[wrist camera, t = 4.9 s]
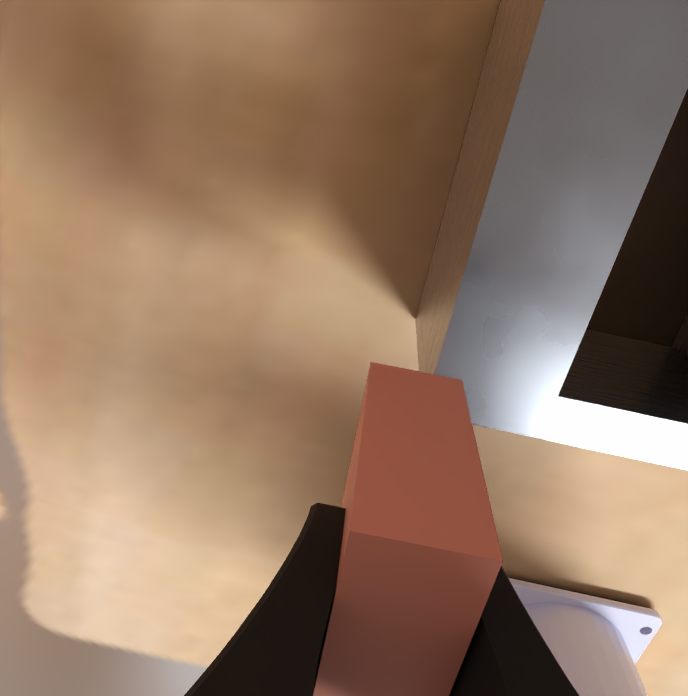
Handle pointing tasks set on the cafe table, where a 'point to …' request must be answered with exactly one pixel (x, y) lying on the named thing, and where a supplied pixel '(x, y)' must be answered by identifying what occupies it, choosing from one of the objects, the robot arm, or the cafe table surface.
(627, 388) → the box with rectangular hole
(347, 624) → the tall pink block
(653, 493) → the cafe table surface
